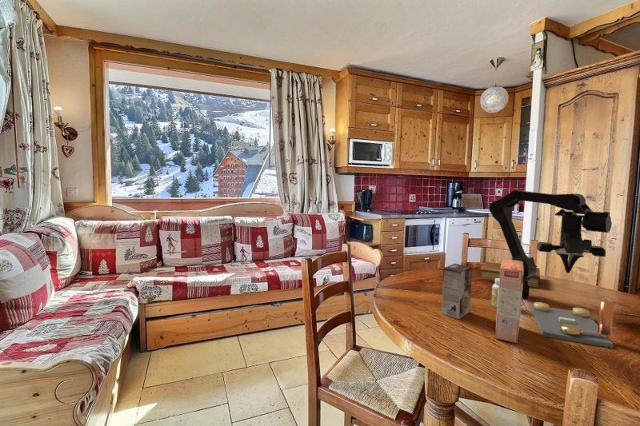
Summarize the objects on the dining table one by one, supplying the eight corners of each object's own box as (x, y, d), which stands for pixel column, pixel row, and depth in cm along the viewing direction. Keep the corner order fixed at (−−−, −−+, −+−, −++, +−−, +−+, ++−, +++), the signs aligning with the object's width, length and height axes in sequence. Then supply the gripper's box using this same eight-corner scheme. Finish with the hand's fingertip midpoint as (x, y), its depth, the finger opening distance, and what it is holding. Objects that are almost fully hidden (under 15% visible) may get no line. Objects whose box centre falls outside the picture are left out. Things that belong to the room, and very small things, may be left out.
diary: (538, 279, 156) (539, 267, 155) (539, 290, 140) (540, 277, 140) (484, 271, 168) (485, 260, 168) (479, 280, 153) (480, 268, 152)
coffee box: (452, 307, 118) (454, 263, 117) (470, 312, 114) (472, 266, 112) (440, 314, 112) (442, 267, 110) (459, 319, 107) (461, 271, 106)
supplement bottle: (509, 305, 120) (511, 279, 119) (505, 309, 116) (507, 282, 115) (493, 301, 124) (495, 276, 123) (489, 305, 120) (490, 279, 119)
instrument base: (542, 336, 96) (543, 326, 96) (531, 308, 117) (531, 300, 117) (613, 348, 89) (614, 338, 89) (587, 316, 111) (587, 308, 110)
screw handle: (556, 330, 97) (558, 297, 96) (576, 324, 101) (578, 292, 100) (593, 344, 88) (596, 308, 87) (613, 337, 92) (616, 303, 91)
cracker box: (519, 344, 91) (524, 270, 89) (494, 339, 94) (498, 267, 92) (519, 326, 102) (524, 260, 101) (498, 322, 106) (501, 258, 104)
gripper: (543, 230, 112) (540, 274, 114) (613, 234, 104) (609, 282, 106) (538, 226, 122) (535, 267, 124) (601, 230, 114) (598, 274, 116)
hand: (567, 272), depth 117 cm, fingers closed
